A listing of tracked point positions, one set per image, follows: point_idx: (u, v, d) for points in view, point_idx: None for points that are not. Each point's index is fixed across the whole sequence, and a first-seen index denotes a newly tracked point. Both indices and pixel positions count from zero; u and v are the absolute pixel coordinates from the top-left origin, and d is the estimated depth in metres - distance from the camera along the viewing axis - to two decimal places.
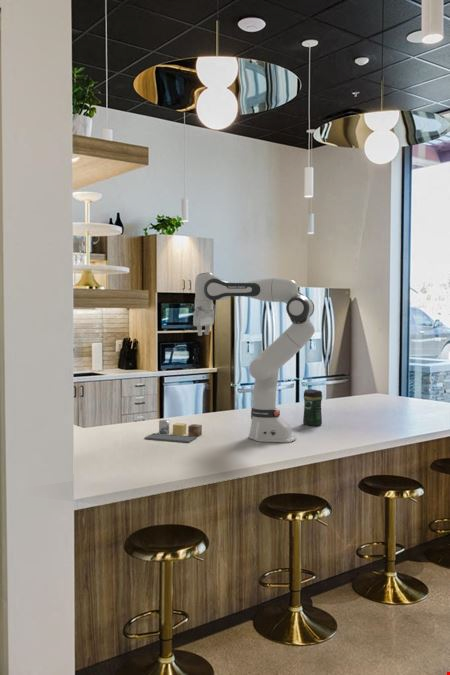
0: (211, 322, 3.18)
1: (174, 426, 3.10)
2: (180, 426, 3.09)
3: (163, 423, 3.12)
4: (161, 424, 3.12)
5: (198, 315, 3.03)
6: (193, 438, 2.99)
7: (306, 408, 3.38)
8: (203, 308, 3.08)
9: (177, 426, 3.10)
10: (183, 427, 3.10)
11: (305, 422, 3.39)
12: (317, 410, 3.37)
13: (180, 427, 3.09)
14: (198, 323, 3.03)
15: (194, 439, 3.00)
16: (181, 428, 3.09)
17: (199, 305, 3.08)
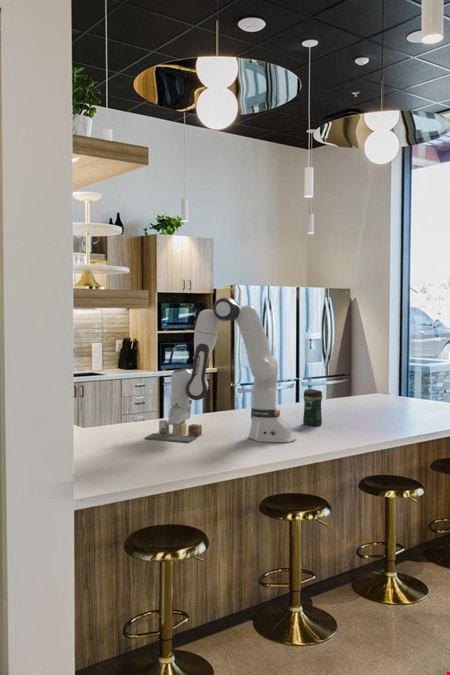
0: (187, 416, 3.17)
1: None
2: (180, 426, 3.09)
3: (163, 423, 3.12)
4: (161, 424, 3.12)
5: (173, 414, 3.02)
6: (193, 438, 2.99)
7: (306, 408, 3.38)
8: (179, 405, 3.07)
9: None
10: (183, 427, 3.10)
11: (305, 422, 3.39)
12: (317, 410, 3.37)
13: (180, 427, 3.09)
14: (173, 422, 3.02)
15: (194, 439, 3.00)
16: (181, 428, 3.09)
17: (175, 402, 3.07)
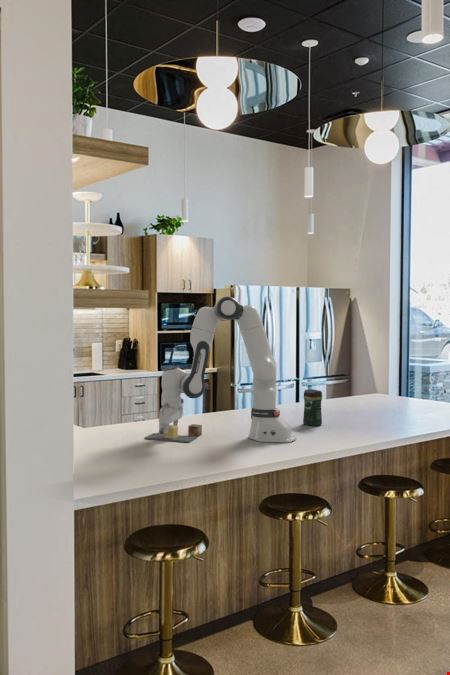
0: (179, 416, 3.07)
1: None
2: (171, 428, 2.99)
3: None
4: None
5: (164, 414, 2.92)
6: (193, 438, 2.99)
7: (306, 408, 3.38)
8: (170, 405, 2.96)
9: (168, 428, 2.99)
10: (174, 429, 3.00)
11: (305, 422, 3.39)
12: (317, 410, 3.37)
13: (171, 430, 2.99)
14: (164, 422, 2.91)
15: (194, 439, 3.00)
16: (173, 431, 2.98)
17: (166, 402, 2.97)
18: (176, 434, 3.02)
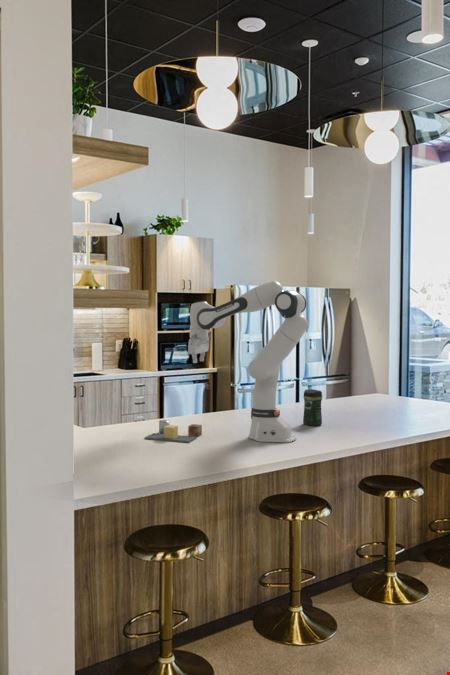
0: (206, 349, 3.25)
1: (165, 428, 3.00)
2: (171, 428, 2.99)
3: (163, 423, 3.12)
4: (161, 424, 3.12)
5: (193, 343, 3.10)
6: (193, 438, 2.99)
7: (306, 408, 3.38)
8: (198, 336, 3.15)
9: (168, 428, 2.99)
10: (174, 429, 3.00)
11: (305, 422, 3.39)
12: (317, 410, 3.37)
13: (171, 430, 2.99)
14: (193, 351, 3.10)
15: (194, 439, 3.00)
16: (173, 431, 2.98)
17: (194, 333, 3.15)
18: (176, 434, 3.02)
